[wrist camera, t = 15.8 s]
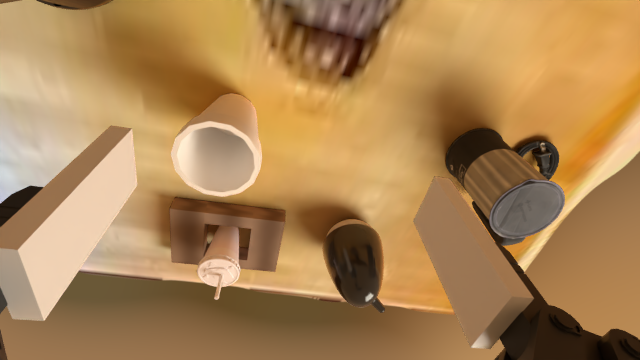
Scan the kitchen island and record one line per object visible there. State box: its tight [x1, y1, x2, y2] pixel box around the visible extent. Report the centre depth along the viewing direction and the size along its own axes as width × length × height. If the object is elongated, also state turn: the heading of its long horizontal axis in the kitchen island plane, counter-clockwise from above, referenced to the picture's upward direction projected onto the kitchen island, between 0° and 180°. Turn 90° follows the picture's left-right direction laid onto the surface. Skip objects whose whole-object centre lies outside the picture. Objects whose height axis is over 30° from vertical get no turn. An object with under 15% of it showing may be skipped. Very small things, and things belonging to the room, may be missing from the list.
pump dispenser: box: [323, 219, 385, 313], centre depth 55 cm, size 10×10×15 cm
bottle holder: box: [170, 197, 285, 272], centre depth 58 cm, size 18×12×3 cm, turn 78°
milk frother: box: [446, 128, 565, 246], centre depth 48 cm, size 14×16×15 cm
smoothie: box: [197, 225, 240, 300], centre depth 53 cm, size 6×6×14 cm
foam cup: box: [171, 93, 262, 197], centre depth 42 cm, size 10×9×13 cm
